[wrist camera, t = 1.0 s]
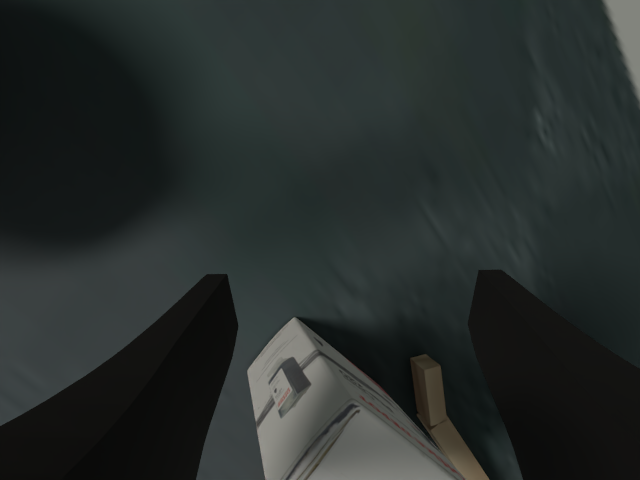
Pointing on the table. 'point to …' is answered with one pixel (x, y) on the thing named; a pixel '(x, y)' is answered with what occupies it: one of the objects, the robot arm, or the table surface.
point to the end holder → (441, 417)
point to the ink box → (332, 418)
